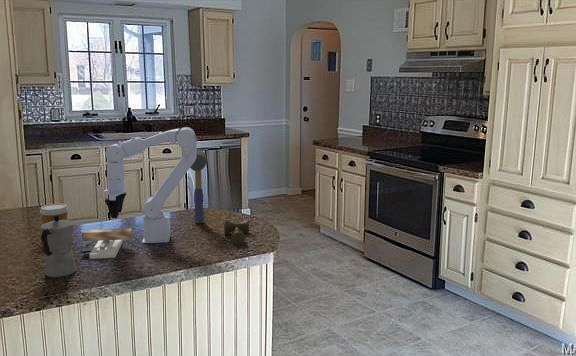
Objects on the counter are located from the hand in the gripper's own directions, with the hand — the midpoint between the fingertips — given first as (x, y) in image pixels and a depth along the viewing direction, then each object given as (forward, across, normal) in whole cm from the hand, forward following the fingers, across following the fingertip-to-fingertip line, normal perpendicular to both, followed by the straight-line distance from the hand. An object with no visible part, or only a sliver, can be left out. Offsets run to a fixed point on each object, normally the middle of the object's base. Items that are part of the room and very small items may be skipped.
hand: (116, 215), depth 175 cm
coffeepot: (+11, +28, -12) cm, 32 cm away
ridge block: (+10, +9, -2) cm, 14 cm away
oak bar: (+6, +9, -1) cm, 11 cm away
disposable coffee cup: (+11, -7, -22) cm, 26 cm away
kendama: (+8, 0, +44) cm, 45 cm away
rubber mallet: (+9, -20, +29) cm, 37 cm away
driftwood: (+11, 0, -9) cm, 14 cm away
